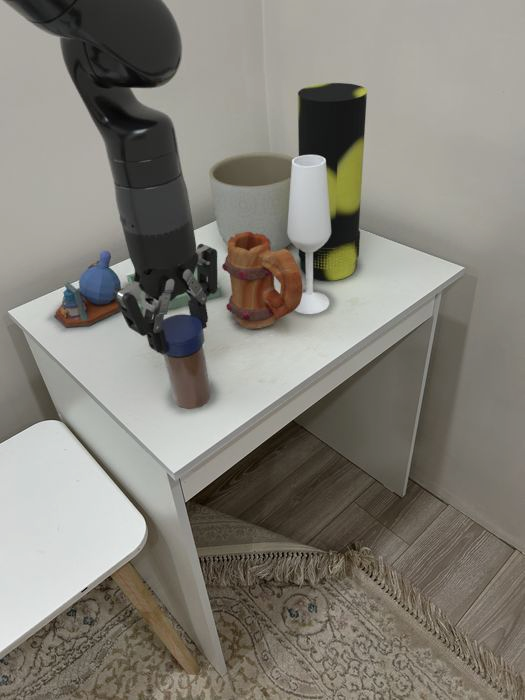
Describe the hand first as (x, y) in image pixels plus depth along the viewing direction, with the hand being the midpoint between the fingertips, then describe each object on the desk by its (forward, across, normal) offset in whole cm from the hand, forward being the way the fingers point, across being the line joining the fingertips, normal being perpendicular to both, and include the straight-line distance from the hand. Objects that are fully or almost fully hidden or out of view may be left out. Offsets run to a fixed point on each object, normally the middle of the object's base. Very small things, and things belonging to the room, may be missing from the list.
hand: (181, 338), depth 69 cm
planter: (+10, +38, +22) cm, 45 cm away
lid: (-1, 0, 0) cm, 1 cm away
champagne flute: (+11, +28, +2) cm, 30 cm away
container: (+11, +39, +6) cm, 41 cm away
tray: (+10, +16, +23) cm, 30 cm away
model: (+10, +3, +30) cm, 32 cm away
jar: (+10, 0, 0) cm, 10 cm away
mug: (+10, +18, +3) cm, 21 cm away
